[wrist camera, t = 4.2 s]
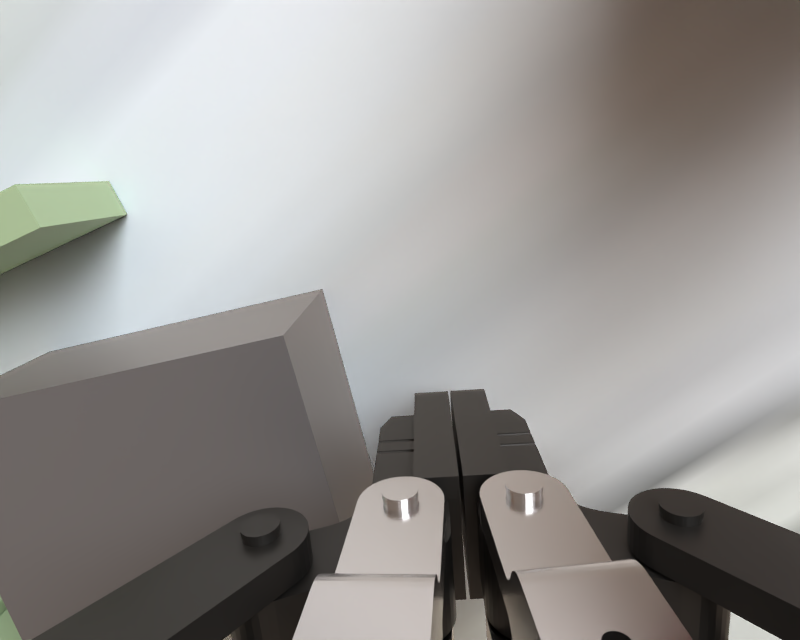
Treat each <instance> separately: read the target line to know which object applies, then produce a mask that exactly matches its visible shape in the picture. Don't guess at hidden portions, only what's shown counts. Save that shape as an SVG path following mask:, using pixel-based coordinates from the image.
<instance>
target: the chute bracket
mask: <svg viewBox="0 0 800 640" xmlns="http://www.w3.org/2000/svg"><path fill="white" fill-rule="evenodd" d="M125 215H127V213H126V212H125V210H124V208H123V206H122V204H121V202H120V201H119V199H118V197H117V195H116V193H115V191H114V190H113V188H112V186H111V184H110V182H109V181H101V182H72V183H44V184H16V185H13V186H11V187H9V188H7V189H5V190H3V191H1V192H0V274H2V273H4V272H7V271H9V270H11V269H13V268H15V267H17V266H19V265H21V264H23V263H25V262H28V261H30V260H32V259H34V258H36V257H38V256H40V255H42V254H44V253H47V252H49V251H51V250H53V249H55V248H57V247H59V246H61V245H63V244H66V243H68V242H70V241H72V240H74V239H76V238H78V237H80V236H82V235H85V234H87V233H89V232H91V231H93V230H95V229H97V228H99V227H101V226H104V225H106V224H108V223H110V222H112V221H114V220H116V219H118V218H120V217H123V216H125ZM0 640H22V639H21V637H20V635H19V633H18V631H17V629H16V626H15V624H14V622H13V620H12V618H11V616H10V614H9V612H8V610H7V608H6V606H5V604H4V602H3V600H2V598H1V596H0ZM31 640H32V639H31Z"/></svg>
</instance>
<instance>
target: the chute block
mask: <svg viewBox="0 0 800 640" xmlns="http://www.w3.org/2000/svg"><path fill="white" fill-rule="evenodd" d="M373 476H374V473H373V469H372V465H371V462H370V458H369V455H368V451H367V447H366V444H365V440H364V437H363V433H362V430H361V426H360V422H359V419H358V415H357V412H356V408H355V404H354V401H353V397H352V394H351V390H350V386H349V383H348V379H347V376H346V372H345V368H344V365H343V361H342V358H341V354H340V350H339V347H338V343H337V340H336V336H335V333H334V329H333V325H332V322H331V318H330V315H329V311H328V307H327V304H326V300H325V297H324V293H323V289H321V290H316V291H312V292H308V293H303V294H299V295H294V296H290V297H286V298H281V299H277V300H273V301H268V302H264V303H260V304H255V305H251V306H247V307H242V308H238V309H234V310H229V311H225V312H220V313H216V314H212V315H207V316H203V317H199V318H194V319H190V320H186V321H181V322H177V323H173V324H168V325H164V326H160V327H155V328H151V329H147V330H142V331H138V332H133V333H129V334H125V335H120V336H116V337H112V338H107V339H103V340H99V341H94V342H90V343H86V344H81V345H77V346H73V347H68V348H64V349H59V350H55V351H51V352H48V353H46V354H44V355H42V356H40V357H38V358H35V359H33V360H31V361H29V362H27V363H25V364H23V365H21V366H19V367H17V368H15V369H13V370H11V371H9V372H6V373H4V374H2V375H0V596H1V598H2V600H3V602H4V604H5V606H6V608H7V610H8V612H9V614H10V616H11V618H12V620H13V622H14V624H15V626H16V629H17V631H18V633H19V635H20V637H21V639H22V640H31V639H33V638H35V637H37V636H38V635H40V634H42V633H43V632H45V631H47V630H49V629H50V628H52V627H54V626H55V625H57V624H59V623H60V622H62V621H64V620H65V619H67V618H69V617H70V616H72V615H74V614H76V613H77V612H79V611H81V610H82V609H84V608H86V607H87V606H89V605H91V604H92V603H94V602H96V601H97V600H99V599H101V598H103V597H104V596H106V595H108V594H109V593H111V592H113V591H114V590H116V589H118V588H119V587H121V586H123V585H124V584H126V583H128V582H130V581H131V580H133V579H135V578H136V577H138V576H140V575H141V574H143V573H145V572H146V571H148V570H150V569H151V568H153V567H155V566H157V565H158V564H160V563H162V562H163V561H165V560H167V559H168V558H170V557H172V556H173V555H175V554H177V553H178V552H180V551H182V550H184V549H185V548H187V547H189V546H190V545H192V544H194V543H195V542H197V541H199V540H200V539H202V538H204V537H205V536H207V535H209V534H211V533H212V532H214V531H216V530H217V529H219V528H221V527H222V526H224V525H226V524H227V523H229V522H231V521H233V520H234V519H236V518H238V517H240V516H242V515H244V514H247V513H249V512H252V511H255V510H260V509H264V508H275V507H280V508H288V509H293V510H295V511H298V512H299V513H301V514H302V515H303V516H304V517H305V518H306V519H307V521H308V526H309V531H310V530H314V529H318V528H322V527H326V526H329V525H333V524H336V523H339V522H341V521H344V520H346V519H348V518H350V517H352V516H353V514H354V511H355V507H356V504H357V501H358V499H359V496H360V495H361V494H362V492H363V491H364V490H365V489H367V488H368V487H370V486H371V485H372V483H373Z"/></svg>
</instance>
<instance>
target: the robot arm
mask: <svg viewBox="0 0 800 640" xmlns="http://www.w3.org/2000/svg"><path fill="white" fill-rule="evenodd" d="M451 413H452V420H451ZM451 413H450V405H449V397H448V391H446V392H430V393H415V411H414V415H413V416H396V417H391V418H390V419H389V420H388V421H387V422H386V423H385V424H384V425H383V426H382V427H381V429H380V436H379V443H378V449H377V456H376V463H375V470H374V476H373V483H372V485H371V486H370V487H368V488H367V489H365V490H364V491H363V492H362V494H361V495H360V496H359V499H358V501H357V504H356V507H355V511H354V514H353V516H352V517H350V518H348V519H346V520H344V521H341V522H339V523H336V524H333V525H329V526H326V527H322V528H318V529H314V530H310V531H309V526H308V521H307V519H306V518H305V517H304V516H303V515H302V514H301V513H299V512H298V511H295V510H293V509H288V508H280V507H275V508H264V509H260V510H255V511H252V512H249V513H247V514H244V515H242V516H240V517H238V518H236V519H234V520H233V521H231V522H229V523H227V524H226V525H224V526H222V527H221V528H219V529H217V530H216V531H214V532H212V533H211V534H209V535H207V536H205V537H204V538H202V539H200V540H199V541H197V542H195V543H194V544H192V545H190V546H189V547H187V548H185V549H184V550H182V551H180V552H178V553H177V554H175V555H173V556H172V557H170V558H168V559H167V560H165V561H163V562H162V563H160V564H158V565H157V566H155V567H153V568H151V569H150V570H148V571H146V572H145V573H143V574H141V575H140V576H138V577H136V578H135V579H133V580H131V581H130V582H128V583H126V584H124V585H123V586H121V587H119V588H118V589H116V590H114V591H113V592H111V593H109V594H108V595H106V596H104V597H103V598H101V599H99V600H97V601H96V602H94V603H92V604H91V605H89V606H87V607H86V608H84V609H82V610H81V611H79V612H77V613H76V614H74V615H72V616H70V617H69V618H67V619H65V620H64V621H62V622H60V623H59V624H57V625H55V626H54V627H52V628H50V629H49V630H47V631H45V632H43V633H42V634H40V635H38V636H37V637H35V638H33V639H32V640H223V639H224V638H225V637H227V636H228V635H229V634H231V635H232V640H454V634H453V626H454V624H455V621H456V601H455V600H463V599H466V589H465V572H464V555H463V544H464V552H465V560H466V569H467V577H468V586H469V594H470V599H481V598H484V605H485V613H486V634H487V640H728V635H729V623H730V612H732V613H734V614H736V615H738V616H740V617H742V618H743V619H745V620H747V621H749V622H751V623H753V624H754V625H756V626H758V627H760V628H762V629H764V630H765V631H767V632H769V633H771V634H773V635H775V636H777V637H778V638H780V639H782V640H800V534H798V533H795V532H793V531H790V530H788V529H785V528H783V527H780V526H778V525H775V524H773V523H770V522H768V521H765V520H763V519H760V518H758V517H755V516H753V515H750V514H748V513H746V512H743V511H741V510H738V509H736V508H733V507H731V506H728V505H726V504H723V503H721V502H718V501H716V500H713V499H711V498H708V497H706V496H703V495H700V494H697V493H694V492H690V491H686V490H680V489H671V488H659V489H651V490H646V491H643V492H641V493H639V494H637V495H635V496H634V497H633V498H632V499H631V500H630V502H629V505H628V515H624V514H617V513H611V512H604V511H598V510H593V509H589V508H586V507H583V506H580V505H577V503H576V502H575V500H574V498H573V497H572V495H571V493H570V492H569V490H568V489H567V487H566V486H565V485H564V484H563V483H562V482H561V481H559V480H558V479H556V478H554V477H552V476H550V475H548V473H547V470H546V468H545V466H544V463H543V461H542V459H541V456H540V454H539V451H538V449H537V447H536V445H535V442H534V440H533V437H532V435H531V434H530V430H529V428H528V426H527V423H526V421H525V419H523V418H522V417H521V416H519V415H518V414H516V413H515V412H513V411H512V410H494V411H490V408H489V405H488V401H487V398H486V394H485V391H484V389H477V390H461V391H451ZM462 535H463V538H462Z"/></svg>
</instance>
